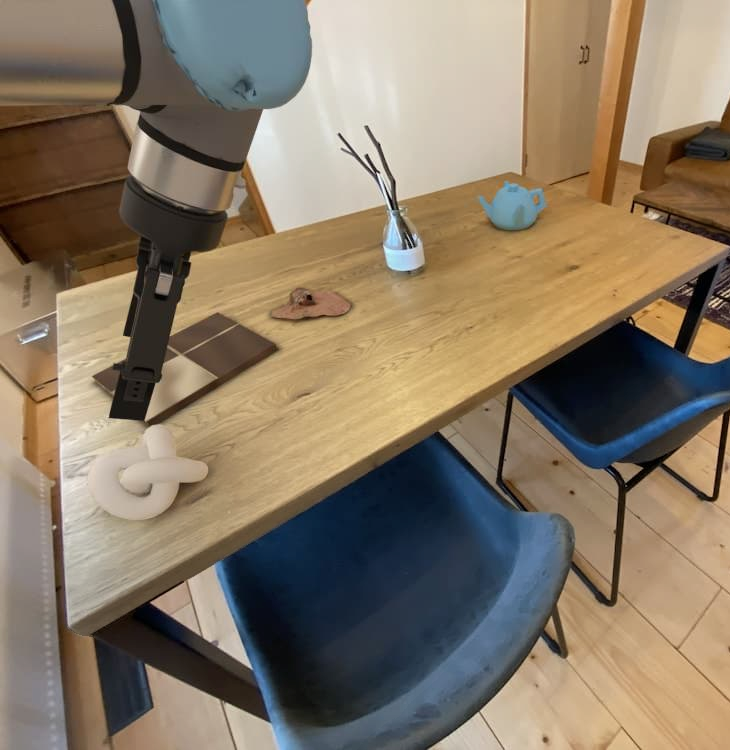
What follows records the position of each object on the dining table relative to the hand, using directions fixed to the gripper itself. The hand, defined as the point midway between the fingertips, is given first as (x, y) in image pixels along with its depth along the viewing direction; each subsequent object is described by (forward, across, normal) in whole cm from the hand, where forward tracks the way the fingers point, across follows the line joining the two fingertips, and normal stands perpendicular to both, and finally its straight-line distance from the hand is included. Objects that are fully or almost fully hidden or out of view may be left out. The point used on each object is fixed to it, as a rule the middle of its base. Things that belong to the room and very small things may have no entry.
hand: (133, 373), depth 47 cm
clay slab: (+9, +42, -30) cm, 53 cm away
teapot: (-25, +61, -79) cm, 103 cm away
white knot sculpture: (+22, +2, -8) cm, 24 cm away
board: (+22, +32, -10) cm, 40 cm away
